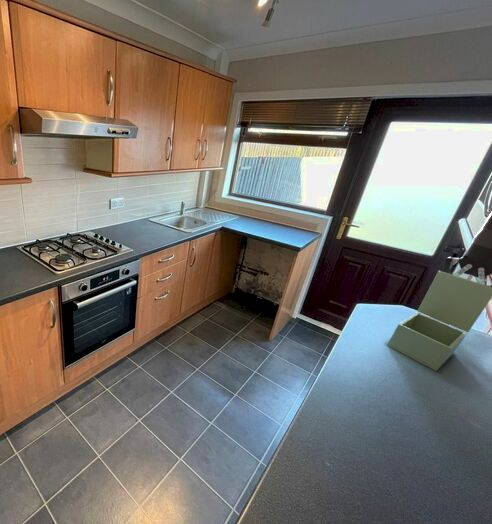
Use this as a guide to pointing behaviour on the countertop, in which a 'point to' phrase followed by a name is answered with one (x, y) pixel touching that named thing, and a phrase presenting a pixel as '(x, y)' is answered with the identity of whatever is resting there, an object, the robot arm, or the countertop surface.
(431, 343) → the green hinged box
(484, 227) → the robot arm
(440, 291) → the lid
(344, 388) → the countertop surface
